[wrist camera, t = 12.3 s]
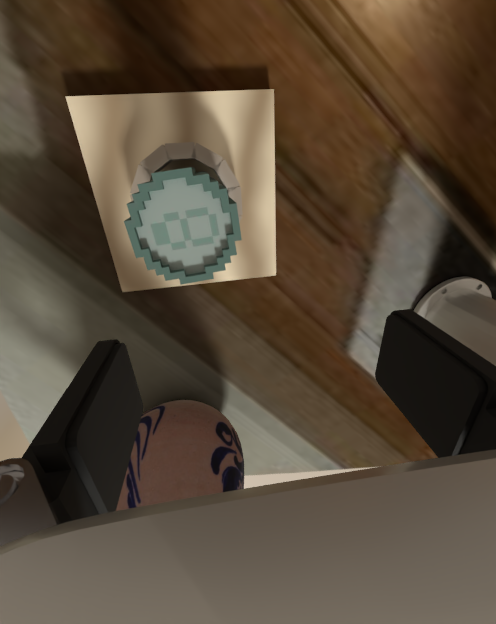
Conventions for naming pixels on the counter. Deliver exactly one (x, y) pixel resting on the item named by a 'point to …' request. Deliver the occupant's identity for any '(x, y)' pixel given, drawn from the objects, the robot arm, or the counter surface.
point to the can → (183, 225)
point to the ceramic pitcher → (182, 455)
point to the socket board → (182, 166)
